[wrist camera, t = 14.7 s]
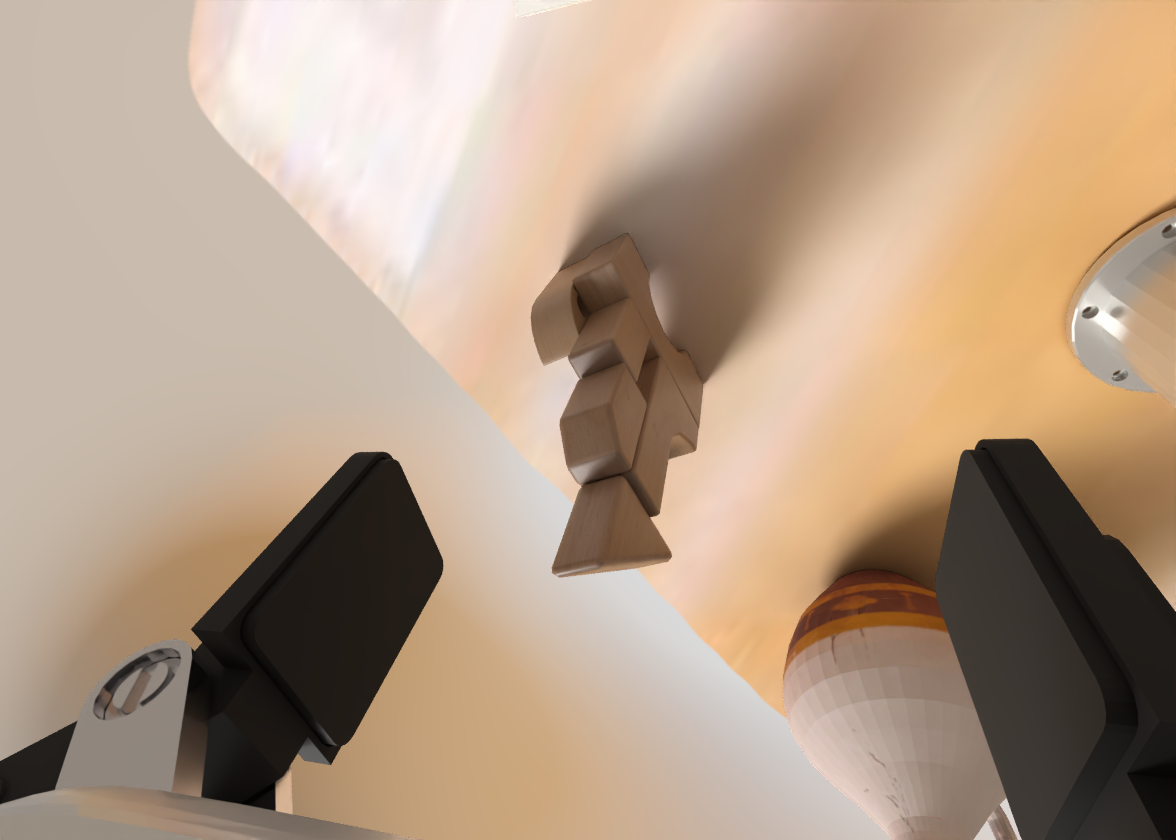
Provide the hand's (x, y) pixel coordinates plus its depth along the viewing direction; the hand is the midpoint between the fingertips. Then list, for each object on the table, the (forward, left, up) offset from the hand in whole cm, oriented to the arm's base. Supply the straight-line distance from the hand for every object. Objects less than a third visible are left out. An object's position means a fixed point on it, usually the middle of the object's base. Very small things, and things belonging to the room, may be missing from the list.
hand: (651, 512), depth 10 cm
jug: (-13, +42, -34) cm, 55 cm away
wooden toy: (+7, +12, -34) cm, 36 cm away
